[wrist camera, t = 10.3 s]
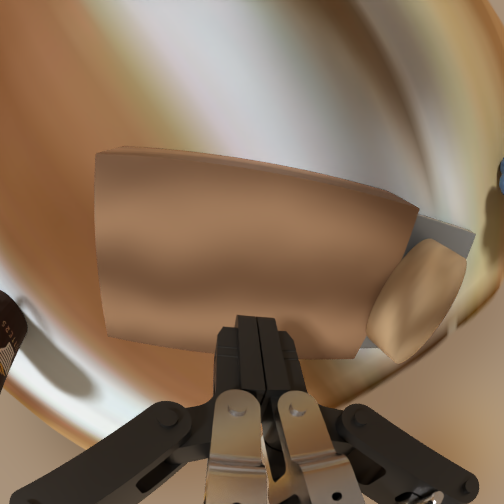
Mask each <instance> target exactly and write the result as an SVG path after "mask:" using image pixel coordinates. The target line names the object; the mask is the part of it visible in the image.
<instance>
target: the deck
mask: <svg viewBox="0 0 504 504" xmlns="http://www.w3.org/2000/svg"><path fill="white" fill-rule="evenodd" d="M419 209H420V208H418V207H416V206H414V205H412V204H411V203H409V202H407V201H405V200H403V199H402V198H400V197H398V196H396V195H394V194H392V193H390V192H388V191H385V190H382V189H379V188H375V187H371V186H368V185H364V184H360V183H357V182H353V181H349V180H345V179H341V178H337V177H333V176H329V175H324V174H320V173H316V172H311V171H306V170H302V169H297V168H292V167H287V166H282V165H277V164H271V163H266V162H260V161H254V160H248V159H242V158H236V157H229V156H222V155H214V154H207V153H199V152H190V151H180V150H170V149H159V148H145V147H129V146H122V147H118V148H115V149H111V150H107V151H103V152H100V153H96V158H95V182H94V216H95V240H96V254H97V266H98V275H99V284H100V292H101V299H102V306H103V312H104V318H105V324H106V329H107V334H108V337H113V338H118V339H123V340H128V341H133V342H138V343H143V344H149V345H155V346H161V347H167V348H174V349H181V350H189V351H196V352H205V353H214V354H215V349H216V341H217V335H218V333H219V332H220V330H221V329H222V327H223V326H224V327H234V326H235V320H236V316H237V315H245V316H255V317H256V316H258V317H270V318H275V320H276V325H277V329H278V331H287V333H288V334H289V335H290V336H291V338H292V339H293V340H294V344H295V347H296V352H297V355H298V359H354V358H355V356H356V354H357V352H358V351H359V349H360V347H361V345H362V343H363V341H364V340H365V338H366V336H367V334H366V328H367V323H368V319H369V316H370V313H371V310H372V308H373V306H374V304H375V302H376V299H377V297H378V296H379V294H380V292H381V290H382V288H383V287H384V285H385V283H386V282H387V280H388V279H389V277H390V275H391V274H392V273H393V271H394V270H395V268H396V267H397V266H398V264H399V263H400V262H401V260H402V257H403V255H404V252H405V250H406V247H407V244H408V241H409V239H410V236H411V233H412V230H413V227H414V224H415V222H416V219H417V215H418V212H419Z"/></svg>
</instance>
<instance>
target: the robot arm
mask: <svg viewBox="0 0 504 504" xmlns="http://www.w3.org/2000/svg"><path fill="white" fill-rule="evenodd" d="M213 379H214V380H213V397H212V398H211V400H209V401H208V402H207V403H205V404H203V405H200V406H195V407H189V408H184V407H183V406H182V405H180V404H178V403H175V402H171V401H161V402H157V403H155V404H153V405H151V406H150V407H149V408H147V409H146V410H144V411H143V412H142V413H140V414H139V415H137V416H136V417H135V418H133V419H132V420H130V421H129V422H128V423H126V424H125V425H123V426H122V427H120V428H119V429H117V430H116V431H114V432H113V433H112V434H110V435H109V436H107V437H106V438H104V439H103V440H101V441H100V442H98V443H97V444H95V445H93V446H92V447H90V448H89V449H87V450H86V451H84V452H83V453H81V454H80V455H78V456H76V457H75V458H73V459H71V460H70V461H68V462H66V463H65V464H63V465H62V466H60V467H58V468H56V469H55V470H53V471H51V472H50V473H48V474H46V475H44V476H43V477H41V478H39V479H37V480H35V481H34V482H32V483H30V484H28V485H26V486H24V487H23V488H21V489H19V490H17V491H16V492H14V493H13V494H12V496H11V498H10V503H9V504H138V503H139V502H141V501H142V500H143V499H145V498H146V497H147V496H148V495H150V494H151V493H152V492H153V491H155V490H156V489H157V488H158V487H160V486H161V485H162V484H163V483H165V482H166V481H167V480H168V479H169V478H171V477H172V476H173V475H174V474H175V473H176V472H178V471H179V470H180V469H181V468H182V467H183V466H184V465H186V464H187V463H188V462H191V461H196V460H201V459H206V458H208V461H207V472H206V483H205V491H204V502H203V504H267V476H268V481H269V488H268V500H269V504H365V501H364V498H363V496H362V493H363V494H364V495H366V496H367V497H369V498H370V499H372V500H374V501H375V502H377V503H378V504H468V503H470V502H471V501H473V500H474V499H475V498H476V496H477V494H478V492H479V482H478V479H477V478H476V476H475V475H474V474H472V473H470V472H469V471H467V470H465V469H463V468H462V467H460V466H458V465H457V464H455V463H453V462H451V461H450V460H448V459H447V458H445V457H443V456H442V455H440V454H438V453H437V452H435V451H434V450H432V449H430V448H429V447H427V446H426V445H424V444H423V443H421V442H419V441H418V440H416V439H415V438H413V437H412V436H410V435H409V434H407V433H406V432H404V431H403V430H401V429H400V428H398V427H397V426H395V425H394V424H392V423H391V422H389V421H388V420H387V419H385V418H384V417H382V416H381V415H379V414H378V413H376V412H375V411H374V410H372V409H371V408H369V407H368V406H366V405H362V404H352V405H349V406H348V407H346V408H345V410H344V411H343V410H338V409H333V408H328V407H324V406H322V405H319V404H318V403H317V401H316V400H315V399H314V398H313V397H312V396H311V395H309V394H308V392H307V390H306V386H305V382H304V378H303V374H302V370H301V366H300V363H299V361H298V355H297V352H296V347H295V344H294V340H293V339H292V338H291V336H290V335H289V334H288V333H287V331H278V329H277V325H276V320H275V318H270V317H258V316H256V317H255V316H245V315H237V316H236V320H235V326H234V327H224V326H223V327H222V329H221V330H220V332H219V333H218V335H217V341H216V349H215V356H214V377H213ZM261 423H262V427H263V433H262V435H261ZM261 447H262V452H263V457H264V461H265V466H266V469H265V466H264V465H263V464H262V460H261ZM266 471H267V475H266Z"/></svg>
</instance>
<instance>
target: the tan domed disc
mask: <svg viewBox="0 0 504 504" xmlns="http://www.w3.org/2000/svg"><path fill="white" fill-rule="evenodd" d="M466 266H467V262H466V259H465V258H464V257H462V256H460V255H459V254H457V253H456V252H454V251H452V250H451V249H449V248H447V247H445V246H444V245H442V244H440V243H439V242H437V241H435V240H433V239H425V240H423V241H421V242H420V243H418V244H417V245H416V246H415V247H413V248H412V249H411V250H410V251H409V252H408V253H407V255H406V256H405V257H404V258H403V259H402V260H401V262H400V263H399V264H398V266H397V267H396V268H395V270H394V271H393V273H392V274H391V275H390V277H389V279H388V280H387V282H386V283H385V285H384V287H383V288H382V290H381V292H380V294H379V296H378V297H377V299H376V302H375V304H374V306H373V308H372V310H371V313H370V316H369V319H368V323H367V328H366V334H367V337H368V338H369V339H370V340H371V341H372V342H373V343H374V344H375V345H376V346H377V347H379V348H380V349H381V350H382V351H383V352H384V353H385V354H386V355H387V356H388V357H390V358H391V359H392V360H393V361H394V362H395V363H396V364H400V363H403V362H405V361H406V360H408V359H409V358H410V357H411V356H413V355H414V354H415V353H416V352H417V351H418V350H419V349H420V348H421V347H422V346H423V345H424V344H425V343H426V341H427V340H428V339H429V338H430V337H431V335H432V334H433V333H434V331H435V330H436V329H437V327H438V326H439V325H440V323H441V322H442V320H443V319H444V317H445V316H446V314H447V312H448V311H449V309H450V307H451V305H452V304H453V302H454V300H455V298H456V296H457V294H458V291H459V289H460V287H461V284H462V281H463V279H464V275H465V271H466Z"/></svg>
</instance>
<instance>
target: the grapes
mask: <svg viewBox="0 0 504 504" xmlns="http://www.w3.org/2000/svg"><path fill="white" fill-rule="evenodd" d="M500 171H501V173H502V175H501V177H500V182H499V187H500V189H501V192H502V194H503V195H504V158H503V160H502V162H501V166H500Z"/></svg>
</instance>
